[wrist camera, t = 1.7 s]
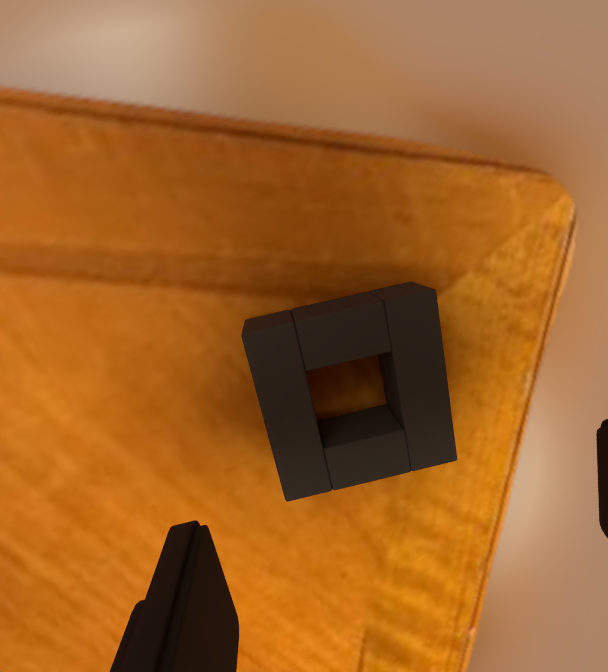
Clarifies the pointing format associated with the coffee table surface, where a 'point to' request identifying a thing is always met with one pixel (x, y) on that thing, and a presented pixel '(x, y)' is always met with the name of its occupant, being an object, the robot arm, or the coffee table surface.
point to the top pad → (362, 426)
